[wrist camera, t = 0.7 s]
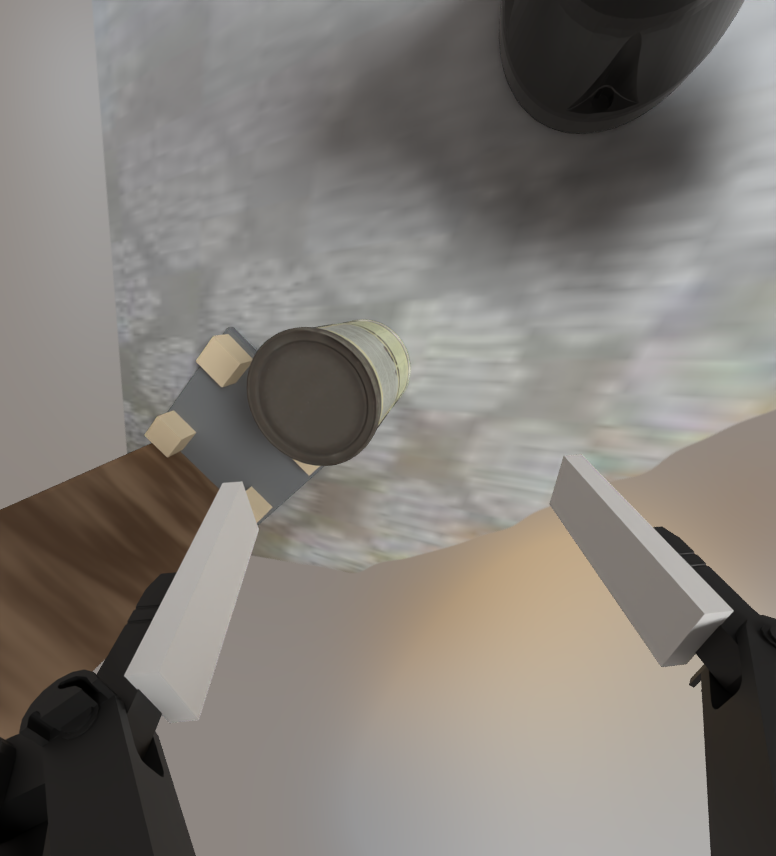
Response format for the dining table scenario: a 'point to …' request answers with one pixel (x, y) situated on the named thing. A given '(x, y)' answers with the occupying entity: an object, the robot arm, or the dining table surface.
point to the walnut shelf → (88, 565)
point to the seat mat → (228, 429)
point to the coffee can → (326, 388)
